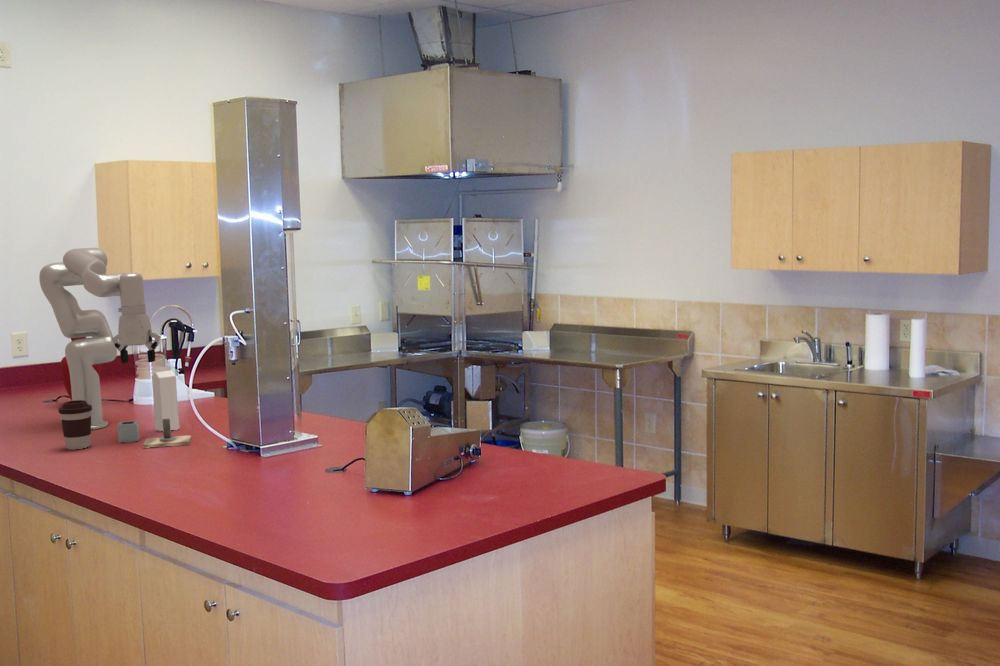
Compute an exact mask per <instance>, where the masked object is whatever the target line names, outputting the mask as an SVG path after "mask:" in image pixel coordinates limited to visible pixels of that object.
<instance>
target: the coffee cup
mask: <svg viewBox="0 0 1000 666" xmlns="http://www.w3.org/2000/svg"><path fill="white" fill-rule="evenodd" d="M91 410H92V405H89V404H87V402H86V401H84V400H75V401H71V400H69V401H65V402H63V403H62V405H61V406H60V407H58V414H60V423H61V422H62V423H61V427H62V433H63V437H64V442H65V448H66V449H67V450H69V451H70V450H71V451H76V449H79V450H84V449H83V448H85V449H87V447H88V448H90V447H89V446H91V435H92V430H91V416H90V411H91ZM61 418H62V419H61Z"/></svg>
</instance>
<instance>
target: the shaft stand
mask: <svg viewBox="0 0 1000 666" xmlns="http://www.w3.org/2000/svg"><path fill="white" fill-rule="evenodd" d="M162 433H163V436H162V437H161V436H160V437H151V438H146V439H145V441H144V443H143V449H144V448H147V449H151V448H150V447H159V448H166V447H165V446H172V447H181V446H183V445H184V446H190V445H191V441H192V434H190V435H177V436H175V435H172V434H171V433H172V431H170V419H163V432H162Z"/></svg>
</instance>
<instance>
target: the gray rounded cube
mask: <svg viewBox="0 0 1000 666" xmlns="http://www.w3.org/2000/svg"><path fill="white" fill-rule="evenodd" d="M139 423H140V422H139V420H128V421H126V420H125V421H119V422H118V424H116V426H117V440H118V443H119V442H129V443H134V442H133V441H138V440H140V439H139V438H141V437H140V435H141V434H140V425H139ZM138 442H139V441H138Z"/></svg>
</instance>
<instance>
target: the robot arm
mask: <svg viewBox="0 0 1000 666" xmlns="http://www.w3.org/2000/svg"><path fill="white" fill-rule="evenodd" d="M107 266H108V256H107V254H106V253H105V251H104V250H103V249H101V248H98V247H83V248H82V247H81V248H79V247H78V248H72V249H70V250H67V251H66V252H65V253H64V255H63V257H62V262H54V263H53V262H52V263H49V264H45V265H44V266H43V267H42V268H41V269H40V272H39V285H40V289H41V291H42V293H43V295H44V296H45V298H46V299H47V301H48V303H49V304H50V306H51V308H52V311H53V314H54V316H55V318H56V322H57V323H58V326H59V329H60V331H61V333H62V336H64V337H65V338H67V339H71V338H81V337H86V338H84V339H77V340H74V341H70V342H68V343H67V345H65V348H64V355H65V356H66V359H67V363H68V367H69V372H70V380H71V391H72V401H75V400H84V401H86V402H87V404H89V405H92V410H91V411H90V416H91V431H93V430H98V429H103V428H106V427H108V425H109V424H108V423H109V422H108V421H106V420H104V419H103V418H104V417H103V407H102V394H101V393H102V392H101V382H100V381H101V378H100V379H99V375H98V373H97V372H96V371H95V370H94V368H93V367H92V365H94V364H104V363H110V362H112V361H114V360H116V359H117V358H116V357H117V356H118V352H119V355H120V356H119V357H120V360H121V364H127V363H129V362H130V361H129V353H128V350H127V348H128V347H129V346H130V347H132V346H145V347H146V349H148V350H146V351H147V352H146V353H147V362H148V363H153V362H155V361H156V351H155V350H156V349H157V347H158V346H159V344H160V342H161V338H162V337H161V335H159V334H157V333H155V332H153V331H152V325H151V322H150V317H149V315H148V313H147V312H146V300H145V289H144V277H143V275H142V274H141V273H137V272H135V273H127V272H126V273H125V272H121V273H107ZM71 286H83V288H84V289H85V291H86V292H88V293H90V294H91V295H93V296H95V297H99V298H110V297H120V300H119V301H120V307H119V308H118V309H117V311H118V312H119V313H121V315H120V316H119V317H118V326H117V327H118V331H117V332H118V333H117V334H116V335H115V336H114V335H113V333H112V330H111V328H110V325H109V322H108V319H107V317H106V316H105V314H104V313H103V312H102V311H100V310H97V309H81V307H80V306H79V302H78V300H77V299H76V296H74V295H73V294H72V293H71V292H70V291H69V290H67V289H66V288H65V287H71ZM153 339H154V341H153ZM61 419H62V417H60V420H61ZM60 424H62V422H61V421H60ZM92 429H93V430H92Z"/></svg>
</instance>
